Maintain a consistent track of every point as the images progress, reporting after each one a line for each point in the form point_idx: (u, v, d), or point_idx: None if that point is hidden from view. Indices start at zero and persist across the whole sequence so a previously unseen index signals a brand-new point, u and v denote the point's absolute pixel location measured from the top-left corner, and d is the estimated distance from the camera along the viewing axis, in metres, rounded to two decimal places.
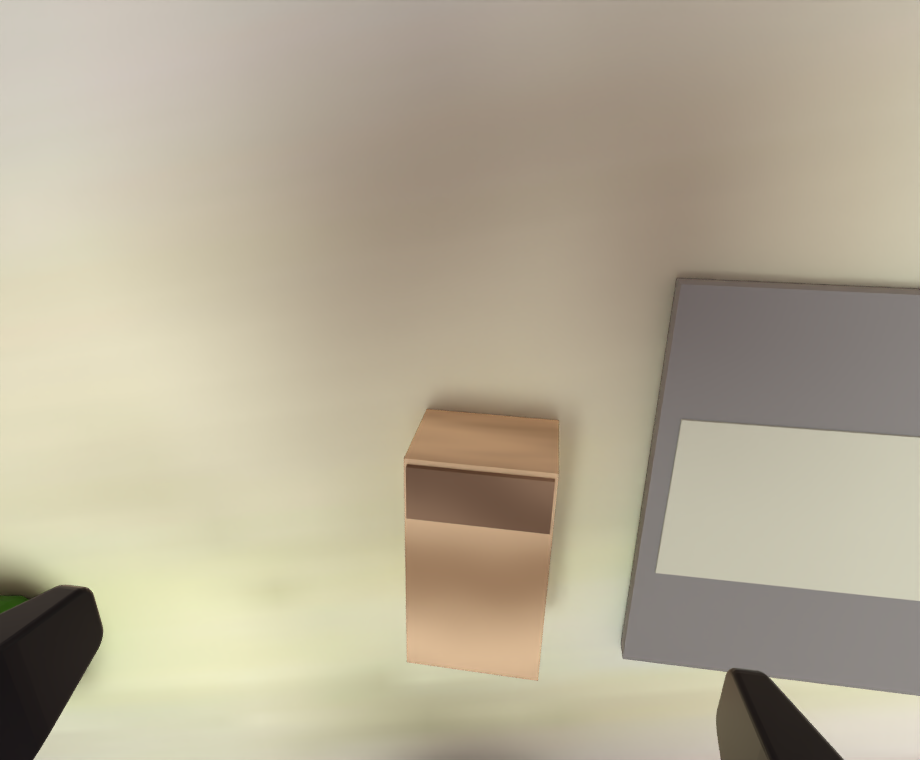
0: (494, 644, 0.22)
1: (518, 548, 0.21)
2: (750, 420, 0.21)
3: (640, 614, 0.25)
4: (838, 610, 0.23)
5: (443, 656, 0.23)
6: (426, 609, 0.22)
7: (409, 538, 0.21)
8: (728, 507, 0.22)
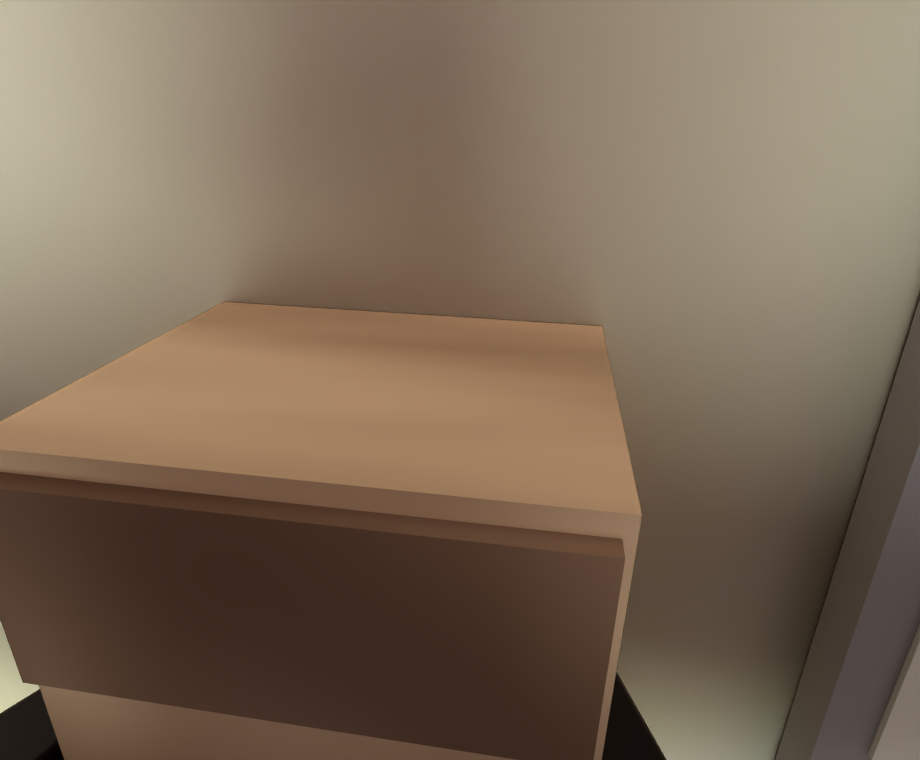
0: None
1: None
2: None
3: None
4: None
5: None
6: None
7: (70, 740, 0.06)
8: None
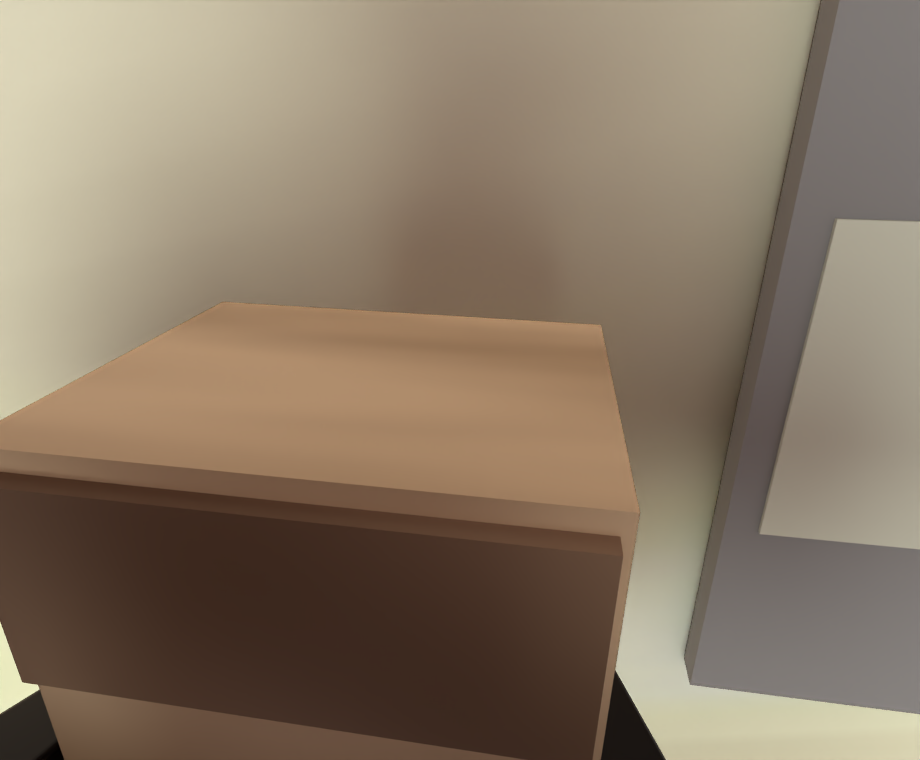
0: None
1: None
2: None
3: (725, 609, 0.14)
4: None
5: None
6: None
7: (70, 740, 0.06)
8: (910, 404, 0.12)
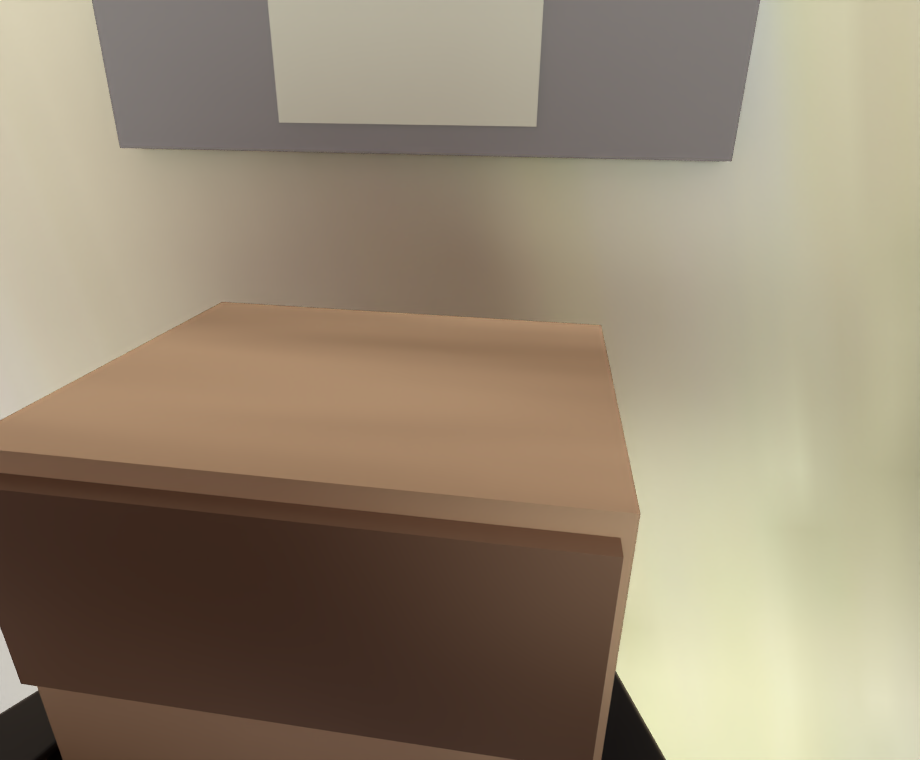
0: None
1: None
2: (265, 23, 0.15)
3: (628, 140, 0.15)
4: None
5: None
6: None
7: (69, 741, 0.06)
8: (407, 27, 0.15)
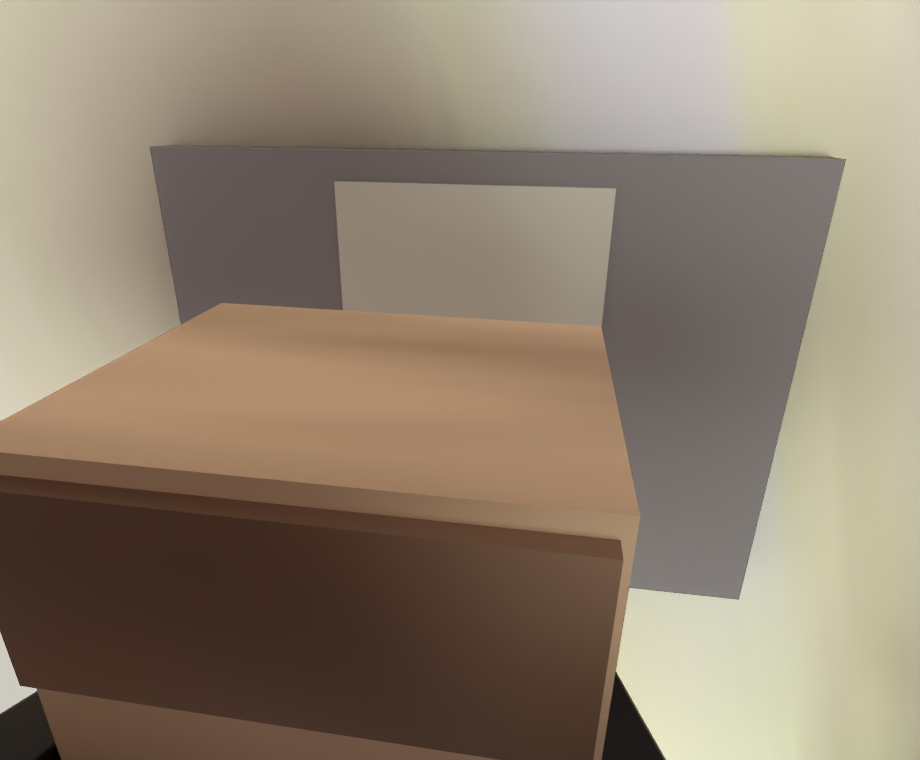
0: None
1: None
2: None
3: (652, 578, 0.18)
4: (637, 346, 0.15)
5: None
6: None
7: (68, 743, 0.06)
8: None
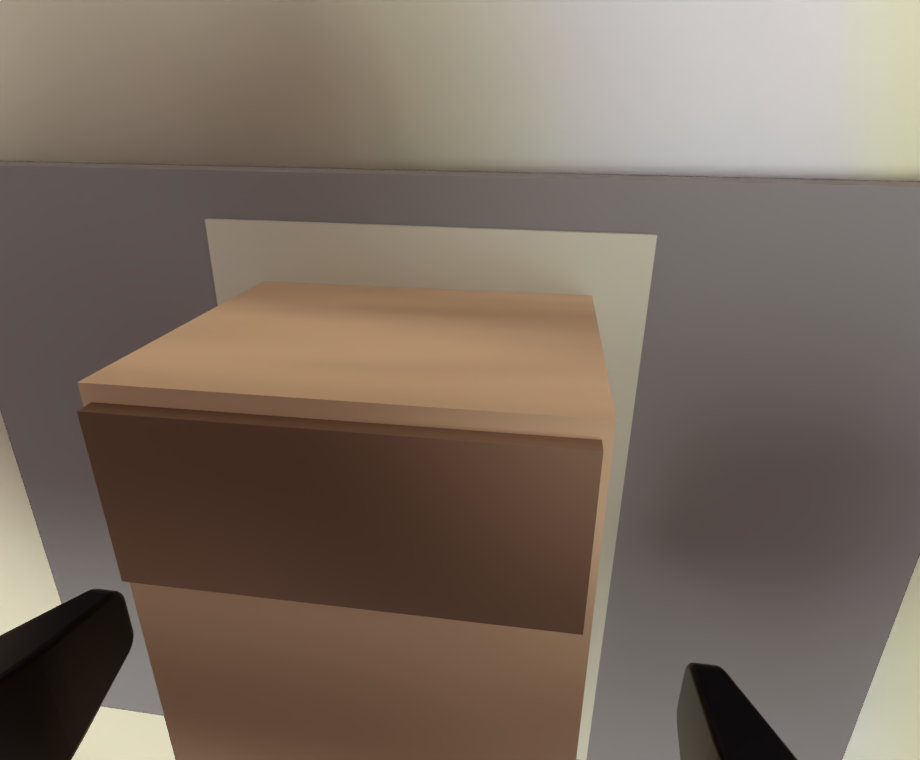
0: None
1: (480, 672, 0.06)
2: None
3: None
4: (685, 473, 0.10)
5: None
6: None
7: (155, 636, 0.07)
8: None
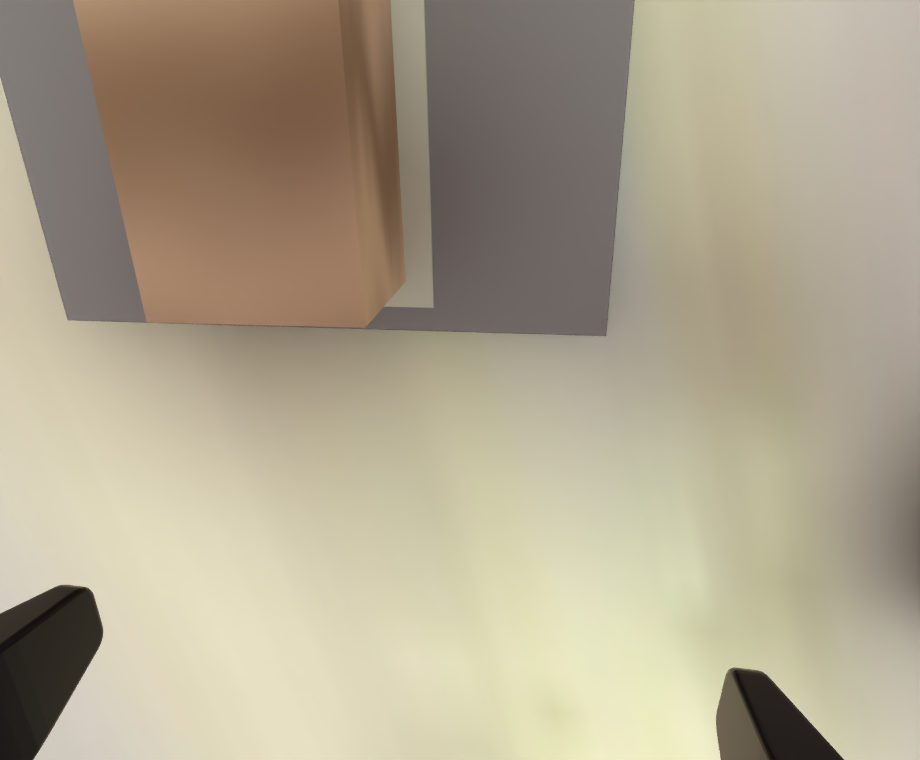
0: (278, 256, 0.13)
1: (279, 5, 0.11)
2: None
3: (515, 318, 0.17)
4: (465, 19, 0.14)
5: (201, 299, 0.13)
6: (151, 195, 0.12)
7: (84, 19, 0.11)
8: None
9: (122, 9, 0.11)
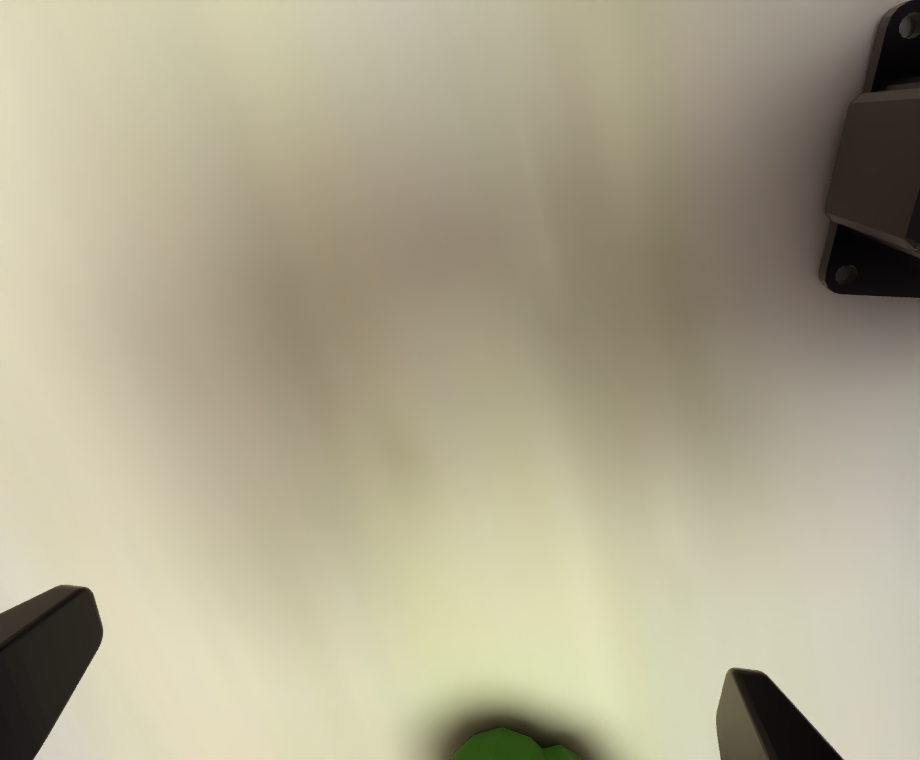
0: None
1: None
2: None
3: None
4: None
5: None
6: None
7: None
8: None
9: None
